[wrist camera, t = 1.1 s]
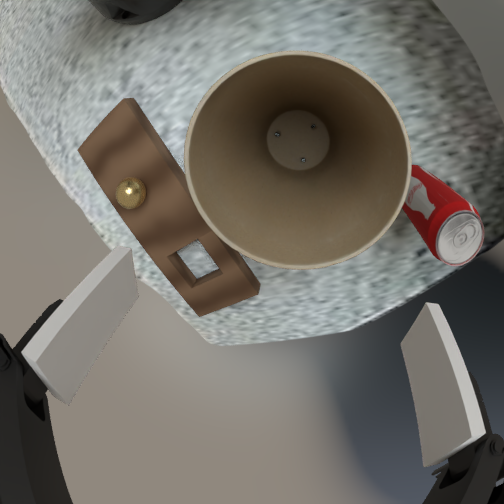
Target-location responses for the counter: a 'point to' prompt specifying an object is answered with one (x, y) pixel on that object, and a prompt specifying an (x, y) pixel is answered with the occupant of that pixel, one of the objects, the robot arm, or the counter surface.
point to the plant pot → (297, 160)
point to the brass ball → (130, 193)
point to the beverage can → (443, 218)
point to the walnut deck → (164, 209)
